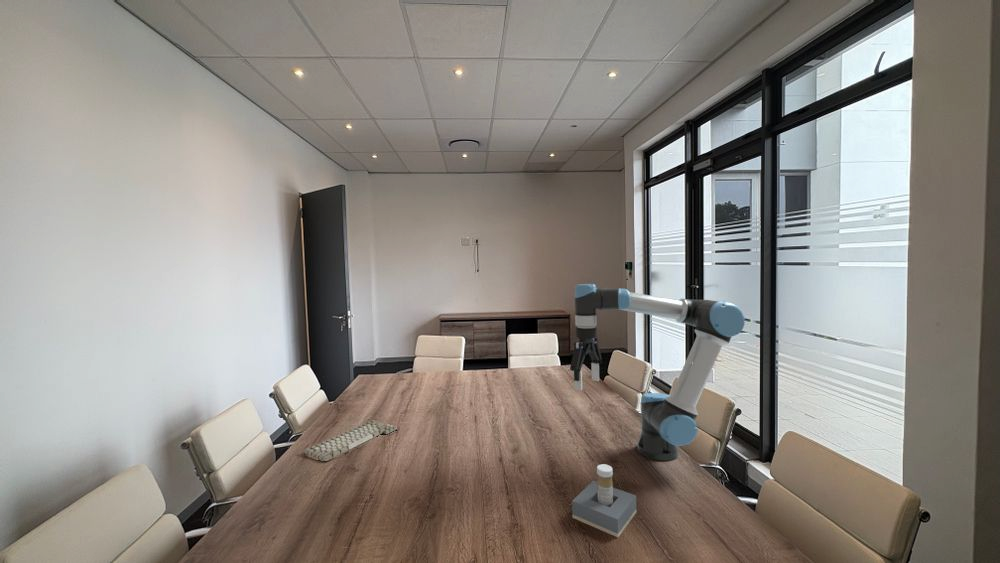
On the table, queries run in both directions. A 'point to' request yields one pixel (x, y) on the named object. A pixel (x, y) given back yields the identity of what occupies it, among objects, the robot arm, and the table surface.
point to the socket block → (604, 509)
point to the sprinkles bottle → (605, 484)
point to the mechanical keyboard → (349, 440)
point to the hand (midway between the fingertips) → (587, 385)
